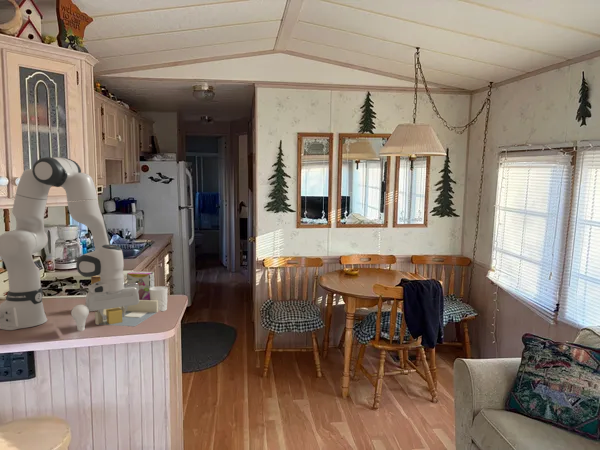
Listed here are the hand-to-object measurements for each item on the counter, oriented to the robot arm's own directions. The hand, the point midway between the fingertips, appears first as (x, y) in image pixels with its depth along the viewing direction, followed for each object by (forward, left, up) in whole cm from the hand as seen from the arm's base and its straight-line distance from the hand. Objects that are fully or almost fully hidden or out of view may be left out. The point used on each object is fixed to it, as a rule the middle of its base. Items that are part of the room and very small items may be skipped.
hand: (113, 318), depth 184 cm
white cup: (+9, +22, -3) cm, 24 cm away
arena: (+3, +6, -3) cm, 7 cm away
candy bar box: (-1, +25, -3) cm, 25 cm away
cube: (0, 0, -2) cm, 2 cm away
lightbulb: (-7, -11, -3) cm, 13 cm away
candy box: (-17, +20, -3) cm, 27 cm away
